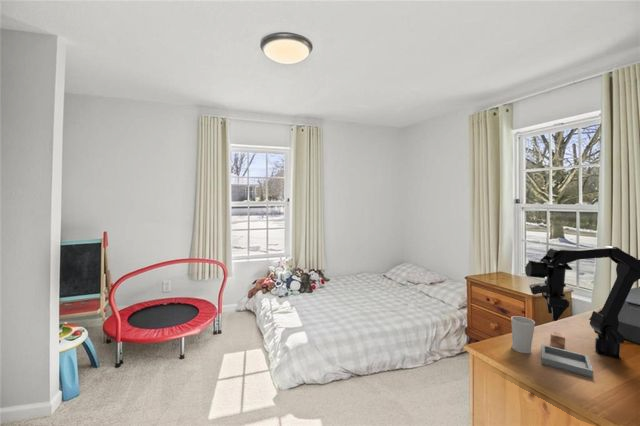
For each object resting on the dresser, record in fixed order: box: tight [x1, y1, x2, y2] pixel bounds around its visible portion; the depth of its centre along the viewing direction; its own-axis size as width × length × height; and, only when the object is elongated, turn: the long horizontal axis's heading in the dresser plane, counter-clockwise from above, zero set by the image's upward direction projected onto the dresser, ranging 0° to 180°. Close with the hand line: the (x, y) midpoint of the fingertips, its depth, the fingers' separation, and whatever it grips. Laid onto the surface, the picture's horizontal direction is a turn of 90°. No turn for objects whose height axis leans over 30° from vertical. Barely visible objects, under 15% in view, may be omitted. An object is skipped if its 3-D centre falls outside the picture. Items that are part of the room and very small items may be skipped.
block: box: [549, 330, 566, 350], centre depth 126 cm, size 4×4×5 cm
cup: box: [510, 315, 536, 354], centre depth 122 cm, size 8×8×12 cm
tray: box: [540, 343, 594, 379], centre depth 112 cm, size 14×13×2 cm
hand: (552, 316), depth 124 cm, fingers open, 9 cm apart
